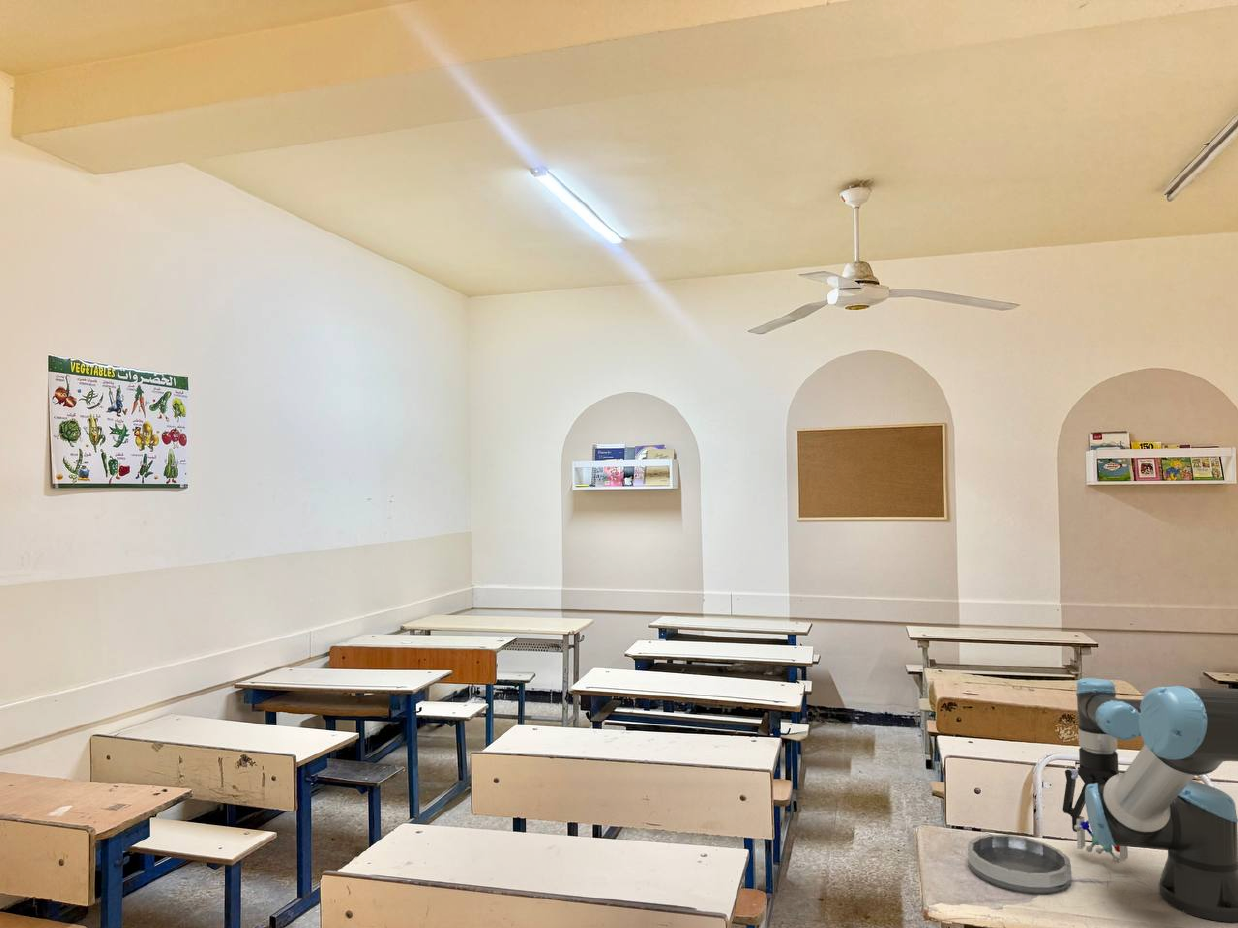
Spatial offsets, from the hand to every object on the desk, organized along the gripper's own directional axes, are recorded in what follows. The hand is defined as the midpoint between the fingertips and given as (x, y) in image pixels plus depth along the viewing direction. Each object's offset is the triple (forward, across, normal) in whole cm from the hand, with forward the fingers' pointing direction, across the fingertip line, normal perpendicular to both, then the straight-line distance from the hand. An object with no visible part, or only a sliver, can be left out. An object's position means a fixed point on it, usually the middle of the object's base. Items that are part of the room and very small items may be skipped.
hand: (1102, 852), depth 181 cm
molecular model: (+1, 0, 0) cm, 1 cm away
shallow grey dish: (+3, +11, +18) cm, 21 cm away
